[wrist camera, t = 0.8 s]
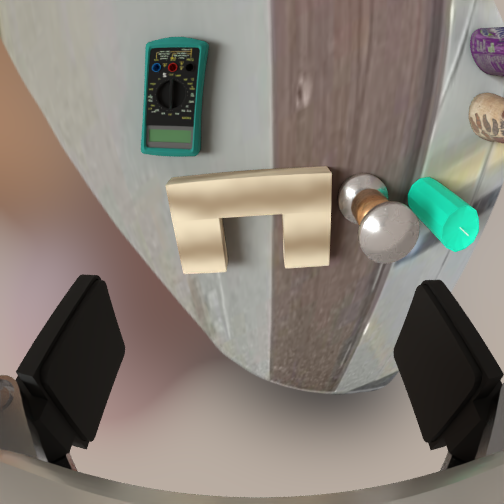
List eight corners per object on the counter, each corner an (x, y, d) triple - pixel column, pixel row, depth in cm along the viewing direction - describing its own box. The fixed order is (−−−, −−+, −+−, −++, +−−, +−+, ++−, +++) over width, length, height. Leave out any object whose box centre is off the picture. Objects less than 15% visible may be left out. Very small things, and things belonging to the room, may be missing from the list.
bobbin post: (337, 173, 40) (363, 205, 30) (387, 172, 40) (423, 204, 30) (336, 222, 43) (357, 265, 34) (383, 220, 43) (413, 261, 34)
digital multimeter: (210, 39, 32) (206, 36, 29) (201, 153, 39) (197, 159, 37) (152, 40, 32) (144, 37, 29) (146, 150, 39) (139, 156, 36)
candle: (436, 216, 42) (477, 258, 32) (403, 214, 42) (441, 257, 32) (445, 179, 39) (492, 213, 29) (411, 174, 39) (456, 209, 29)
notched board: (171, 177, 40) (165, 185, 38) (326, 166, 39) (331, 173, 37) (187, 262, 47) (183, 274, 44) (325, 254, 46) (328, 265, 43)
